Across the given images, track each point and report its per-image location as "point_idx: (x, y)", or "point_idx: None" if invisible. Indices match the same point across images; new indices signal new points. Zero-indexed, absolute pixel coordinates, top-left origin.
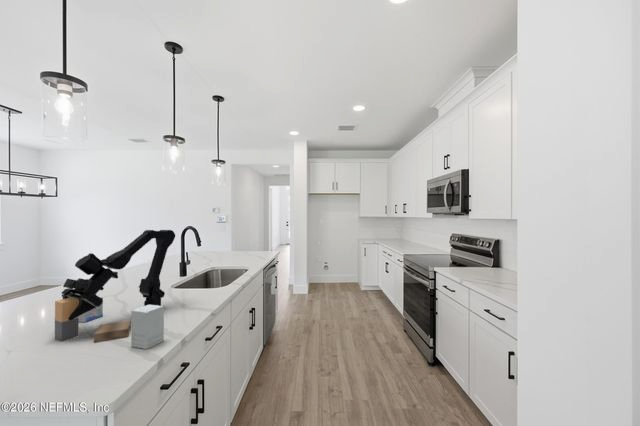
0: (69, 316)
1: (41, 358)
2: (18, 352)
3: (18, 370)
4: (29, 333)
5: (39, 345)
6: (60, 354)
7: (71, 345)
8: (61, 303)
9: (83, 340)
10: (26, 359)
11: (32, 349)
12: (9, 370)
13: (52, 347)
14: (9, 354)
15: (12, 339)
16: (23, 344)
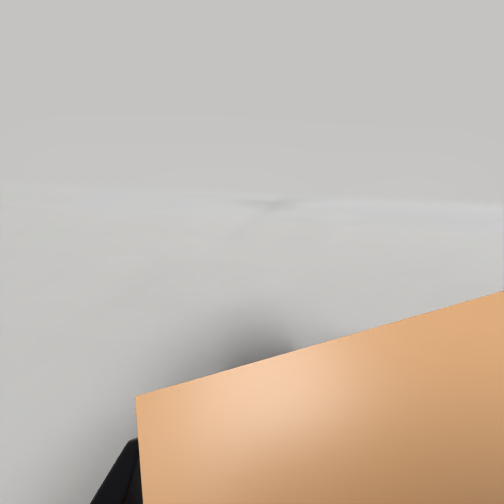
0: (133, 463)
1: (59, 277)
2: (231, 223)
3: (18, 210)
4: (491, 273)
5: (254, 288)
6: (18, 344)
7: (100, 412)
8: (177, 385)
9: None
10: (111, 236)
11: (221, 262)
12: (53, 192)
13: (167, 329)
14: (235, 201)
15: (436, 219)
16: (327, 243)
